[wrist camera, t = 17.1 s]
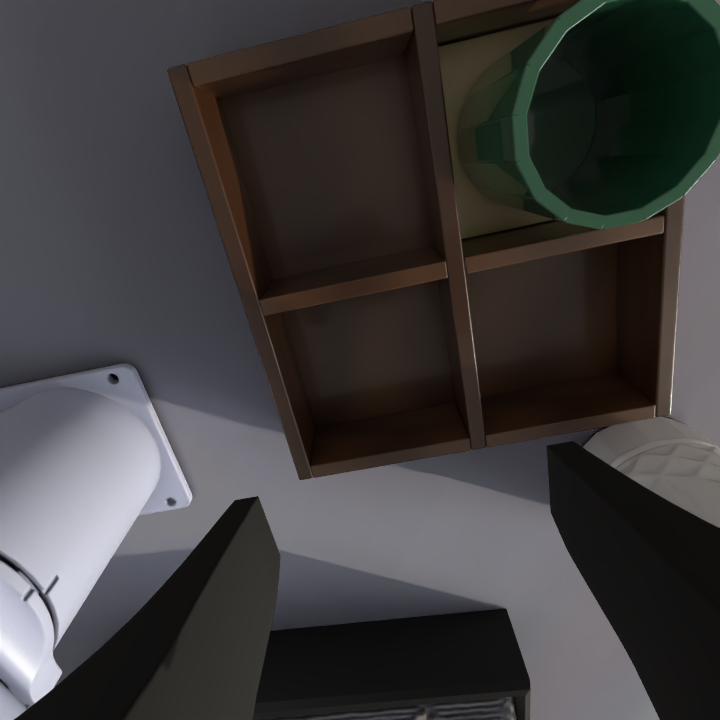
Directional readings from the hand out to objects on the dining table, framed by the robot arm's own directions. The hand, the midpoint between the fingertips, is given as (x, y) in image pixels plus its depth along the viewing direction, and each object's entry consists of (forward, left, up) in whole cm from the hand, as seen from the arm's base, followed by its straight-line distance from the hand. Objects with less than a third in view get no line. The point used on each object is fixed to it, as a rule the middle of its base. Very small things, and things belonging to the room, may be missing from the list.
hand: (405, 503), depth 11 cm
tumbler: (+6, +8, -9) cm, 14 cm away
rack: (+3, +4, -10) cm, 11 cm away
